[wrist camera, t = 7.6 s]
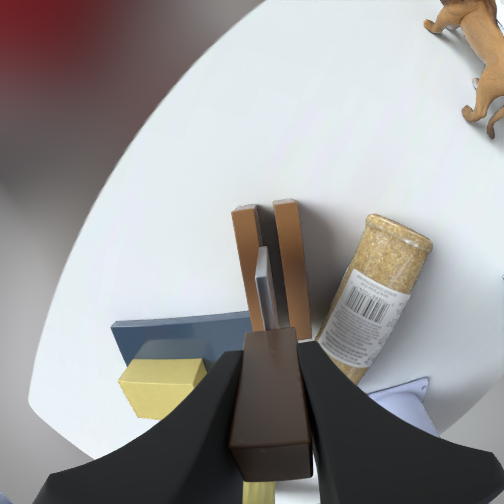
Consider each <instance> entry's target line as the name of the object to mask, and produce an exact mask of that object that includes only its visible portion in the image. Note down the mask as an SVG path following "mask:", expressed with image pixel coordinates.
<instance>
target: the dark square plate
mask: <svg viewBox="0 0 504 504" xmlns="http://www.w3.org/2000/svg"><path fill="white" fill-rule="evenodd" d="M111 330H112V332H113V335H114V337H115V340H116V342H117V345H118V347H119V349H120V352H121V354H122V356H123V359H124V361H125V363H126V365H127V367H128V366H129V364H130V363H131V361H132V360H133V359H199V358H202V360H203V363H204V366H205V369H206V372H207V373H208V372H209V370H210V369H211V368H212V367H213V365H214V364H215V363H216V361H217V360H218V359H219V358H220V357H221V355H222V354H223V353H224V352H225V351H236V350H243V343H244V337H245V333H247V332H253V329H252V324H251V319H250V313H249V311H243V312H234V313H225V314H215V315H205V316H194V317H182V318H168V319H153V320H135V321H116V322H115V323H114V324H113V325H112V326H111Z"/></svg>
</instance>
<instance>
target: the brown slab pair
mask: <svg viewBox="0 0 504 504" xmlns="http://www.w3.org/2000/svg"><path fill="white" fill-rule="evenodd" d="M273 207H274V213H275V220H276V227H277V233H278V240H279V247H280V254H281V261H282V268H283V276H284V283H285V291H286V298H287V306H288V314H289V322H290V327H295V329H296V334H297V340H304V339H311V338H312V332H311V319H310V308H309V297H308V287H307V277H306V268H305V259H304V250H303V242H302V234H301V227H300V219H299V212H298V205H297V202H296V201H295V200H293V199H284V200H277V201H273ZM231 215H232V220H233V226H234V232H235V237H236V243H237V248H238V254H239V259H240V265H241V270H242V276H243V281H244V287H245V292H246V297H247V303H248V308H249V313H250V319H251V324H252V329H253V332H256V331H264V326H263V320H262V314H261V308H260V303H259V297H258V291H257V286H256V280H255V275H256V267H257V259H258V251H259V247H263V242H262V236H261V229H260V223H259V217H258V211H257V205H256V204H251V205H245V206H239V207H237V208H236V209H235V210H233V211H232V212H231Z"/></svg>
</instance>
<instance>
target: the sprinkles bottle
mask: <svg viewBox="0 0 504 504" xmlns="http://www.w3.org/2000/svg"><path fill="white" fill-rule="evenodd" d="M432 248H433V244H432V242H431V241H430V240H429V239H428V238H427V237H425V236H423V235H421V234H419V233H417V232H415V231H414V230H412V229H410V228H408V227H406V226H404V225H401V224H399V223H397V222H395V221H392V220H390V219H387V218H385V217H382V216H380V215H377V214H370V215H368V216H367V218H366V227H365V230H364V232H363V235H362V237H361V240H360V242H359V245H358V247H357V250H356V252H355V254H354V257H353V259H352V261H351V263H350V265H349V266H348V268H347V270H346V272H345V275H344V277H343V279H342V281H341V284H340V286H339V288H338V290H337V292H336V295H335V297H334V299H333V301H332V303H331V305H330V308H329V312H328V314H327V316H326V318H325V320H324V322H323V324H322V326H321V328H320V330H319V332H318V334H317V336H316V338H315V340H314V341H317V342H318V343H319V344H320V346H321V347H322V348H323V350H324V351H325V352H326V354H327V355H328V356H329V357H330V359H331V360H332V361H333V362H334V363H335V364H336V365H337V367H338V368H339V369H340V370H341V371H342V372H343V373H344V374H345V375H346V376H347V377H348V378H349V379H350V380H351V381H352V382H353V383H354V384H355V385H356V386H357V384H358V383H359V381H360V380H361V378H362V377H363V376H364V374H365V373H366V371H367V370H368V368H369V367H370V365H371V364H372V363H373V362H374V360H375V359H376V357H377V356H378V354H379V352H380V351H381V349H382V347H383V346H384V344H385V342H386V341H387V339H388V337H389V335H390V334H391V332H392V330H393V328H394V327H395V325H396V323H397V321H398V319H399V317H400V316H401V314H402V312H403V310H404V308H405V306H406V304H407V302H408V300H409V298H410V296H411V292H412V289H413V287H414V285H415V283H416V281H417V279H418V277H419V274H420V272H421V269H422V267H423V265H424V262H425V261H426V258H427V256H428V254H429V253H430V252H431V250H432Z"/></svg>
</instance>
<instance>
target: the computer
mask: <svg viewBox="0 0 504 504" xmlns="http://www.w3.org/2000/svg"><path fill="white" fill-rule="evenodd" d="M495 1H496V2H495V3H496V5H497V17H496V18H497V20H498V21H499V22H500V24H501V25H502V26H503V28H504V0H495Z"/></svg>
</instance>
